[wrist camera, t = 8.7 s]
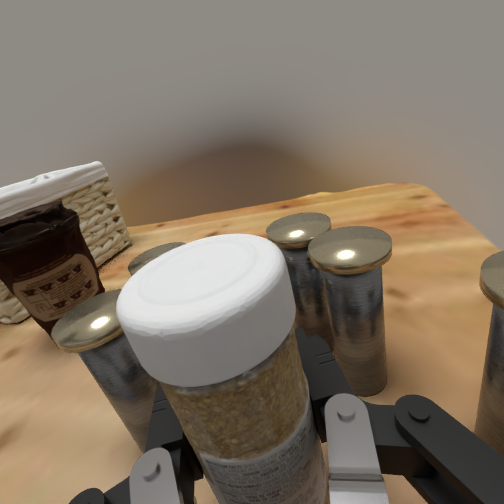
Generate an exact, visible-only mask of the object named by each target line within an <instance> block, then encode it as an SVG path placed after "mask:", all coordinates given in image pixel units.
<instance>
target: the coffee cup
mask: <svg viewBox="0 0 504 504" xmlns="http://www.w3.org/2000/svg"><path fill="white" fill-rule="evenodd" d="M77 214H78V213H77V212H76V211H74V210H72V209H67V208H65V207H64V206H63V204H62V201H54V202H50V203H47V204H42V205H39V206H36V207H33V208H29V209H26V210H24V211H21V212H18V213H16V214H14V215H11V216H9V217H5V218H3V219H0V280H1V281H2V282H3V283H4V284H5V285H6V287H7V288H8V289H9V291H10V292H11V293H12V295H13V296H15V297H16V298H17V299H18V301H19V302H20V303H21V304H22V305H23V306H24V307H25V309H26V310H27V312H28V313H29V314H30V315H31V316H32V318H33V319H34V320H35V321H36V322H37V323H38V324H39V325H40V326H41V327H42V328H43V329H44V330H45V331H46V332H47V333H48V334H49V336H50V337H51V339H52V340H53V338H52V336H51V333H52V329H53V327H54V326H55V324H56V323H57V322H58V320H59V319H60V318H61V317H62V316H63V315H65V314H66V313H67V312H68V311H69V310H71V309H72V308H74V307H75V306H77V305H78V304H80V303H82V302H83V301H85V300H87V299H89V298H91V297H94V296H96V295H99V294H101V293H104V292H105V288H104V287H103V285H102V283H101V281H100V278H99V272H98V269H97V266H96V263H95V260H94V258H93V256H92V254H91V252H90V250H89V248H88V246H87V244H86V242H85V239H84V237H83V235H82V233H81V229H80V225H79V224H80V219H79V216H78V215H77ZM53 341H54V340H53ZM54 342H55V341H54Z"/></svg>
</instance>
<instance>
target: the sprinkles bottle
mask: <svg viewBox="0 0 504 504" xmlns="http://www.w3.org/2000/svg"><path fill="white" fill-rule="evenodd" d="M295 313H296V305H295V300H294V296H293V291H292V286H291V281H290V277H289V273H288V269H287V265H286V261H285V258H284V256H283V254H282V252H281V250H280V249H279V248H278V247H277V246H276V245H275V244H274V243H273V242H271V241H269V240H268V239H265V238H262V237H259V236H255V235H249V234H226V235H218V236H212V237H207V238H203V239H199V240H196V241H193V242H190V243H187V244H184V245H182V246H179V247H177V248H175V249H172V250H170V251H168V252H166V253H164V254H162V255H161V256H159V257H157V258H155V259H154V260H152V261H150V262H149V263H147V264H146V265H145V266H143V267H142V268H141V269H139V270H138V271H137V272H136V273H135V274H134V275H133V276H132V277H131V278H130V279H129V280H128V282H127V283H126V284H125V285H124V287H123V288H122V290H121V292H120V294H119V296H118V300H117V305H116V314H117V318H118V320H119V323H120V325H121V327H122V329H123V331H124V333H125V335H126V337H127V339H128V341H129V343H130V345H131V347H132V349H133V350H134V352H135V354H136V356H137V358H138V360H139V362H140V364H141V365H142V367H143V368H144V369H145V370H146V371H147V372H148V374H149V375H150V376H152V377H153V378H155V379H156V380H157V381H158V382H160V385H161V387H162V388H163V391H164V393H165V395H166V396H167V399H168V401H169V403H170V404H171V406H172V408H173V409H174V412H175V414H176V415H177V417H178V419H179V421H180V424H181V426H182V429H183V431H184V433H185V435H186V436H187V439H188V441H189V443H190V444H191V446H192V447H193V450H194V452H195V454H196V456H197V458H198V460H199V462H200V464H201V466H202V469H203V473H204V475H205V477H206V479H207V481H208V483H209V485H210V487H211V488H212V490H213V492H214V494H215V496H216V498H217V500H218V502H219V503H220V504H330V493H329V488H328V486H327V475H326V468H325V463H324V458H323V453H322V448H321V444H320V439H319V434H318V431H317V427H316V422H315V417H314V413H313V408H312V403H311V398H310V393H309V387H308V382H307V379H306V376H305V374H304V371H303V368H302V364H301V359H300V354H299V351H298V345H297V340H296V337H295V322H294V319H295Z"/></svg>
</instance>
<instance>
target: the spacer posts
mask: <svg viewBox="0 0 504 504" xmlns="http://www.w3.org/2000/svg"><path fill="white" fill-rule="evenodd" d="M266 233H267V238H268V240H269V241H271V242H273V243H274V244H275V245H276V246H277V247H278V248H279V249H280V250H281V252H282V254H283V256H284V258H285V261H286V265H287V269H288V273H289V277H290V281H291V286H292V291H293V296H294V300H295V305H296V313H295V319H294V322H295V328H297V327H301V326H302V328H303V330H304V332H305V334H306V336H307V338H308V337H311V336H314V335H318V336H319V337H321V338H322V339H323V340H325V341H326V342H327V344H328V346H329V348H330V350H331V351H334V357H335V359H336V361H337V363H338V365H339V366H340V368H341V370H342V372H343V374H344V376H345V378H346V379H347V381H348V383H349V385H350V387H351V389H352V390H353V392H354V393H355V394H356V395H359V396H371V395H375V394H377V393H379V392H380V391H382V390H383V389H384V387H385V385H386V383H387V368H386V348H385V327H384V307H383V286H382V265H384V264H385V263H386V262H387V261H388V260H389V259H390V258H391V255H392V240H391V237H390V236H389V235H388V234H387V233H386V232H384V231H382V230H380V229H376V228H372V227H365V226H350V227H342V228H337V229H333V230H332V229H331V221H330V218H329V217H328V216H327V215H324V214H321V213H299V214H293V215H289V216H286V217H283V218H280V219H278V220H276V221H274V222H273V223H271V224H270V225H269V226H268V227H267V229H266ZM184 244H186V243H182V242H175V243H168V244H164V245H160V246H157V247H155V248H152V249H150V250H148V251H146V252H144V253H142V254H140V255H139V256H137V257H136V258H135V259H133V260H132V261H131V263H130V264H129V266H128V270H129V272H130V274H131V276H133V275H134V274H135V273H136V272H137V271H138V270H139V269H141V268H142V267H143V266H145V265H146V264H147V263H149V262H150V261H152V260H154V259H155V258H157V257H159V256H161V255H162V254H164V253H166V252H168V251H170V250H172V249H175V248H177V247H179V246H182V245H184ZM479 285H480V288H481V290H482V292H483V294H484V295H485V296H486V297H487V298H488V299H489V300H490V301H491V302H492V303H493V310H492V316H491V323H490V330H489V337H488V343H487V350H486V357H485V364H484V370H483V377H482V384H481V391H480V398H479V404H478V411H477V418H476V425H475V431H474V434H475V435H476V436H477V437H479V438H480V439H481V440H482V441H484V442H485V443H486V444H488V445H489V446H490V447H491V448H493V449H494V450H495V451H497V452H498V453H499V454H500V455H502V456H503V457H504V251H501V252H498V253H496V254H493V255H491V256H490V257H488V258H487V259H486V260H485V261H484V262H483V264H482V266H481V272H480V281H479ZM121 290H122V289H118V290H112V291H108V292H104V293H101V294H99V295H96V296H94V297H91V298H89V299H87V300H85V301H83V302H82V303H80V304H78V305H77V306H75V307H74V308H72V309H71V310H69V311H68V312H67V313H66V314H65V315H63V316H62V317H61V318H60V319H59V320H58V322H57V323H56V324H55V326H54V327H53V329H52V333H51V336H52V338H53V340H54V341H55V343H56V344H57V346H58V347H59V349H60V350H62V351H64V352H67V353H77V352H78V354H79V356H80V357H81V359H82V360H83V362H84V363H85V365H86V366H87V368H88V369H89V371H90V372H91V374H92V375H93V377H94V379H95V380H96V382H97V383H98V385H99V386H100V388H101V389H102V391H103V392H104V394H105V395H106V397H107V398H108V400H109V402H110V403H111V405H112V406H113V408H114V409H115V411H116V412H117V414H118V415H119V417H120V418H121V420H122V422H123V423H124V425H125V426H126V428H127V429H128V431H129V432H130V434H131V435H132V437H133V438H134V440H135V441H136V443H137V445H138V446H139V448H140V449H141V451H142V452H143V454H144V452H145V447H146V442H147V436H148V430H149V425H150V419H151V414H152V408H153V405H154V397H155V391H156V389H157V387H158V386H159V384H160V382H158V381H157V380H156V379H155V378H153V377H152V376H150V375H149V374H148V372H147V371H146V370H145V369H144V368H143V367H142V365H141V364H140V362H139V360H138V358H137V356H136V354H135V352H134V350H133V349H132V347H131V345H130V343H129V341H128V339H127V337H126V335H125V333H124V331H123V329H122V327H121V325H120V323H119V320H118V318H117V314H116V305H117V300H118V296H119V294H120V292H121Z"/></svg>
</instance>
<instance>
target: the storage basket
mask: <svg viewBox="0 0 504 504" xmlns="http://www.w3.org/2000/svg"><path fill="white" fill-rule="evenodd" d="M112 189H113V188H112V185H111V182H110V180H109V178H108V174H107V172H106V170H105V168H104V166H103V164H102V163H101V162H98V161H95V162H92V163H90V164H86V165H81V166H76V167H71V168H67V169H63V170H58V171H53V172H50V173H45V174H41V175H38V176H36V177H35V178H33V179H29V180H26V181H21V182H18V183H15V184H12V185H8V186H5V187H2V188H0V219H3V218H5V217H9V216H11V215H14V214H16V213H18V212H21V211H24V210H26V209H29V208H33V207H36V206H39V205H42V204H47V203H50V202H54V201H62V204H63V206H64V207H65V208H67V209H72V210H74V211H76V212H77V213H78V214H77V215H78V216H79V219H80V224H79V225H80V229H81V233H82V235H83V237H84V239H85V242H86V244H87V246H88V248H89V250H90V252H91V254H92V256H93V258H94V260H95V263H96V266H97V268H98V267H99V266H100V265H102V264H103V263H104V262H105V261H106V260H107V259H110V258H112V256H113V255H114V254H116V253H117V252H119V251H121V250H122V249H123V248H124V247H126V246H127V245H128V244H130V242H131V239H130V236H129V233H128V231H127V228H126V225H125V223H124V220H123V218H122V215H121V213H120V208H119V206H118V204H117V201H116V199H115V195H114V192H113V191H112ZM28 316H30V314H29V313H28V312H27V310H26V309H25V307H24V306H23V305H22V304H21V303H20V302H19V301H18V299H17V298H16V297H15V296H13V295H12V293H11V292H10V291H9V289H8V288H7V287H6V285H5V284H4V283H3V282H2V281H1V280H0V322H2V323H4V324H10V323H18V322H20V321H22V320H24V319H25V318H27V317H28Z"/></svg>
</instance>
